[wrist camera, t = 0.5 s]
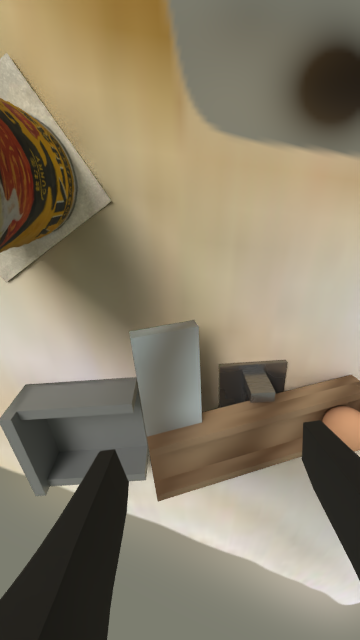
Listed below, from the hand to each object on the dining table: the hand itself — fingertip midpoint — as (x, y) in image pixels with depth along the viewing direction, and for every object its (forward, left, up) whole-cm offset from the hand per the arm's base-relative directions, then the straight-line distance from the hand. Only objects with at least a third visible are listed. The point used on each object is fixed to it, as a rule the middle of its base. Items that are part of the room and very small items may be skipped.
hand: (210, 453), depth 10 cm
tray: (+9, +7, -9) cm, 15 cm away
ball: (-10, +7, -7) cm, 14 cm away
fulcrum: (-4, +7, -9) cm, 12 cm away
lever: (-4, +3, -7) cm, 9 cm away
